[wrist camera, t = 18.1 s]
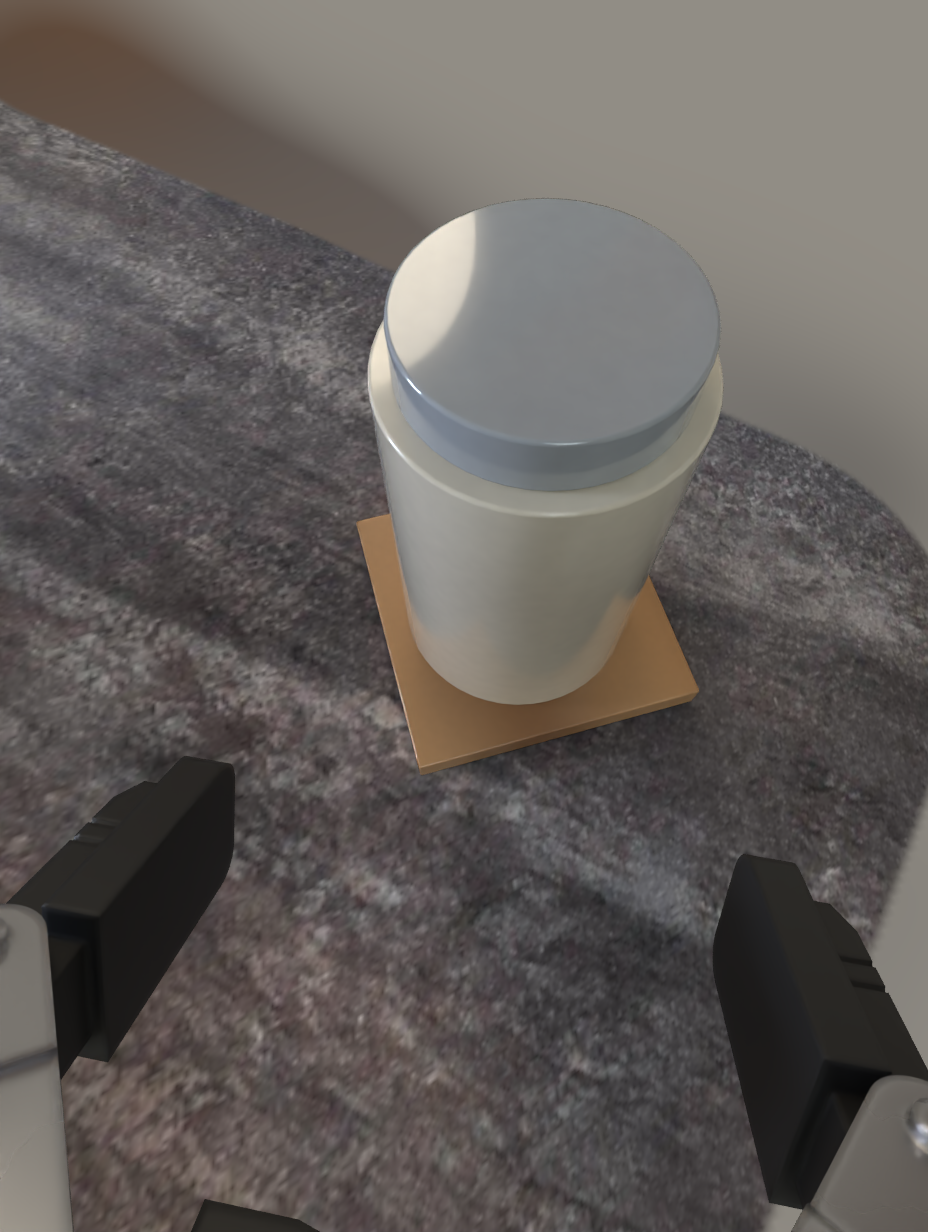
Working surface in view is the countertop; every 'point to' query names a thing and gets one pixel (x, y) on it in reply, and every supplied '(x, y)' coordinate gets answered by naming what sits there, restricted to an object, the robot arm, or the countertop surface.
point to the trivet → (477, 728)
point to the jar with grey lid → (538, 433)
